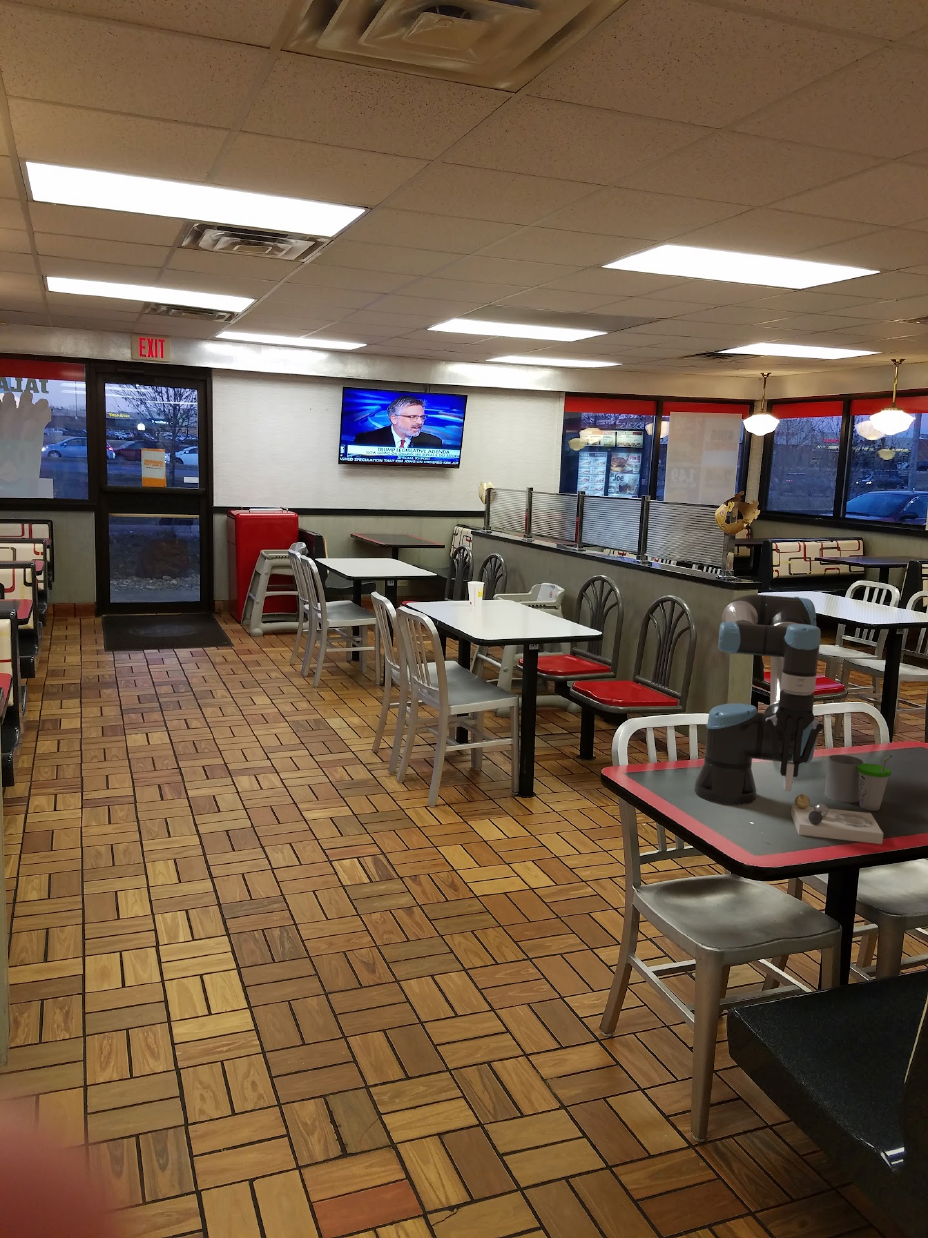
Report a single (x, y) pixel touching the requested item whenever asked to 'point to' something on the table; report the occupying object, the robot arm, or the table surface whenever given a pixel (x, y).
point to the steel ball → (821, 809)
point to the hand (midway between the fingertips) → (787, 789)
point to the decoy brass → (802, 801)
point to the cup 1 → (842, 778)
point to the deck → (838, 825)
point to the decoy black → (815, 817)
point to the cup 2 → (872, 784)
